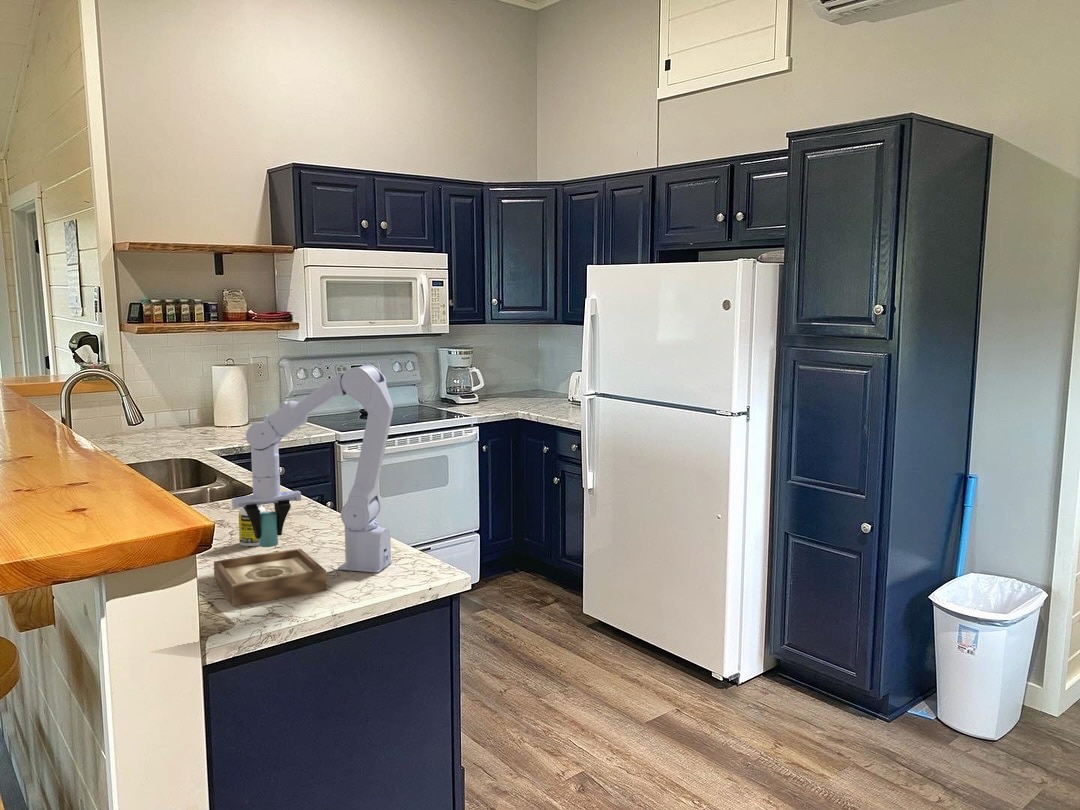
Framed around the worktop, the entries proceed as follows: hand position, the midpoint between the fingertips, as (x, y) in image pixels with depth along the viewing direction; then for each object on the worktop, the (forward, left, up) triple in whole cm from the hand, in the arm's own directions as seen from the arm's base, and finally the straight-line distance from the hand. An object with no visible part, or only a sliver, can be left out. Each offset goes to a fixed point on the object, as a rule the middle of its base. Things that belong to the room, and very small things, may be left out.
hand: (268, 535), depth 182 cm
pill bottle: (+12, -13, -6) cm, 19 cm away
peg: (0, 0, -2) cm, 2 cm away
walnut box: (-8, +13, -6) cm, 16 cm away
